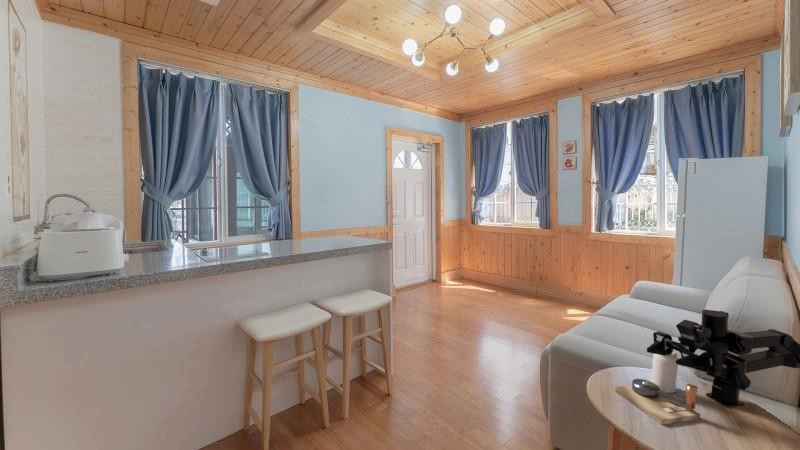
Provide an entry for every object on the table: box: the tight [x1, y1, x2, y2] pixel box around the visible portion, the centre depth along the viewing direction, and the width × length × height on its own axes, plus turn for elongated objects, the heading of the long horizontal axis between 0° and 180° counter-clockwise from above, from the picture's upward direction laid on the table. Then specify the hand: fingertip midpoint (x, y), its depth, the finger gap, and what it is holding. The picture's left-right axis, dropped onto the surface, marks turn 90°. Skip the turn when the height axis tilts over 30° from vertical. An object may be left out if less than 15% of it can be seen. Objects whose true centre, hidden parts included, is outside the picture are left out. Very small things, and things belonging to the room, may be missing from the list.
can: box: [650, 351, 679, 394], centre depth 114 cm, size 6×6×12 cm
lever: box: [631, 378, 698, 410], centre depth 106 cm, size 16×7×7 cm, turn 37°
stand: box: [614, 384, 701, 425], centre depth 106 cm, size 13×16×2 cm
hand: (661, 356), depth 102 cm, fingers open, 9 cm apart
